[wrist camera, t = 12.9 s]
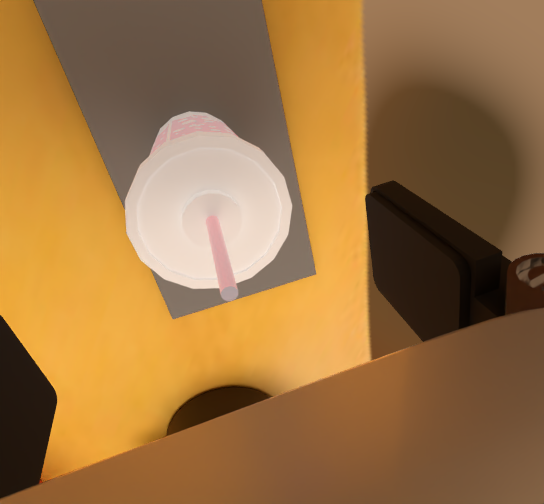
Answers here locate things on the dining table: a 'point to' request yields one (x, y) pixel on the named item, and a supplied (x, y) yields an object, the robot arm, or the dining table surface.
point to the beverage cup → (206, 206)
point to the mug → (213, 406)
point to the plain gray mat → (179, 99)
